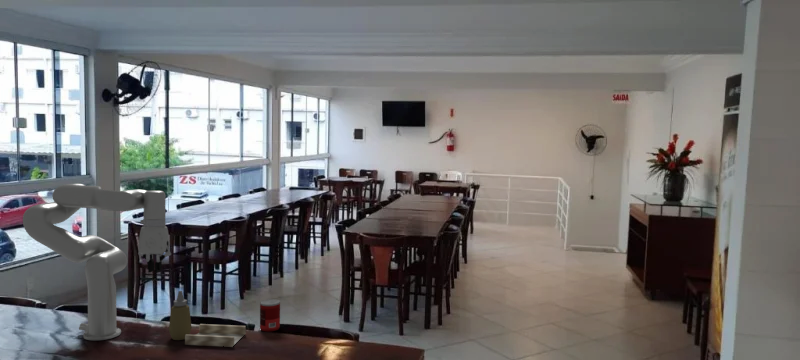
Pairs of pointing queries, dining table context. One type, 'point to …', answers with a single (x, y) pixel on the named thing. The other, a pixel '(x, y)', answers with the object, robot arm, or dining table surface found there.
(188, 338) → the cradle
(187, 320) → the squeeze bottle
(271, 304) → the canned food
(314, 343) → the dining table surface
